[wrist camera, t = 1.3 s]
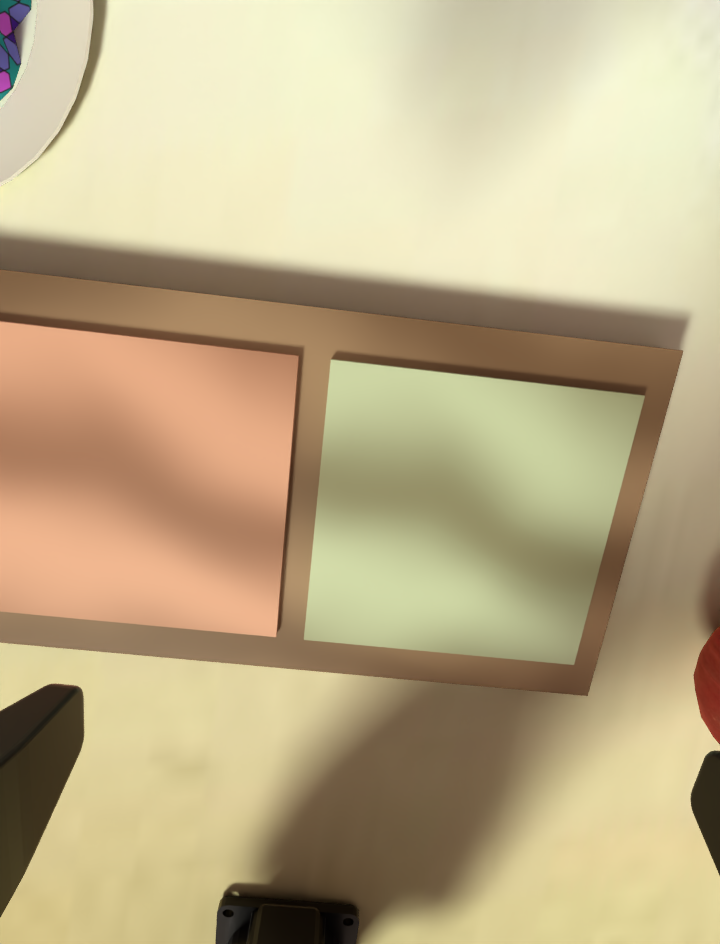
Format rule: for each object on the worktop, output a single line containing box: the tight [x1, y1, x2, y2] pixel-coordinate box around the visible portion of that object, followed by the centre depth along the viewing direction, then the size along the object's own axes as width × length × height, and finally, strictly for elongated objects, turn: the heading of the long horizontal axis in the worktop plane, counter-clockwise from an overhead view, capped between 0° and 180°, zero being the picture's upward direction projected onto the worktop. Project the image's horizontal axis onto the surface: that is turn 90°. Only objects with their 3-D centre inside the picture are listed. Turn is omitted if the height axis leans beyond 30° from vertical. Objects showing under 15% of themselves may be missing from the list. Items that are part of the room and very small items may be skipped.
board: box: [0, 269, 683, 696], centre depth 19 cm, size 13×23×2 cm, turn 84°
